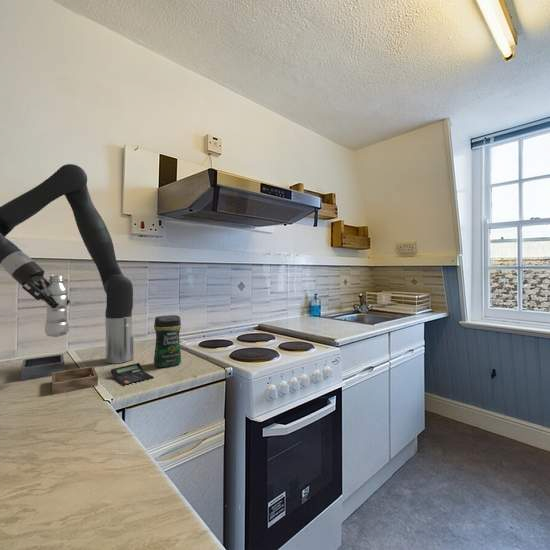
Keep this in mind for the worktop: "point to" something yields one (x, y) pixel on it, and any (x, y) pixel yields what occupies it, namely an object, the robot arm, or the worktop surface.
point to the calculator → (130, 374)
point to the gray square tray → (41, 367)
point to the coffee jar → (167, 341)
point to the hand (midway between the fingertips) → (62, 305)
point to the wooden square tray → (75, 383)
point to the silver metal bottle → (57, 308)
